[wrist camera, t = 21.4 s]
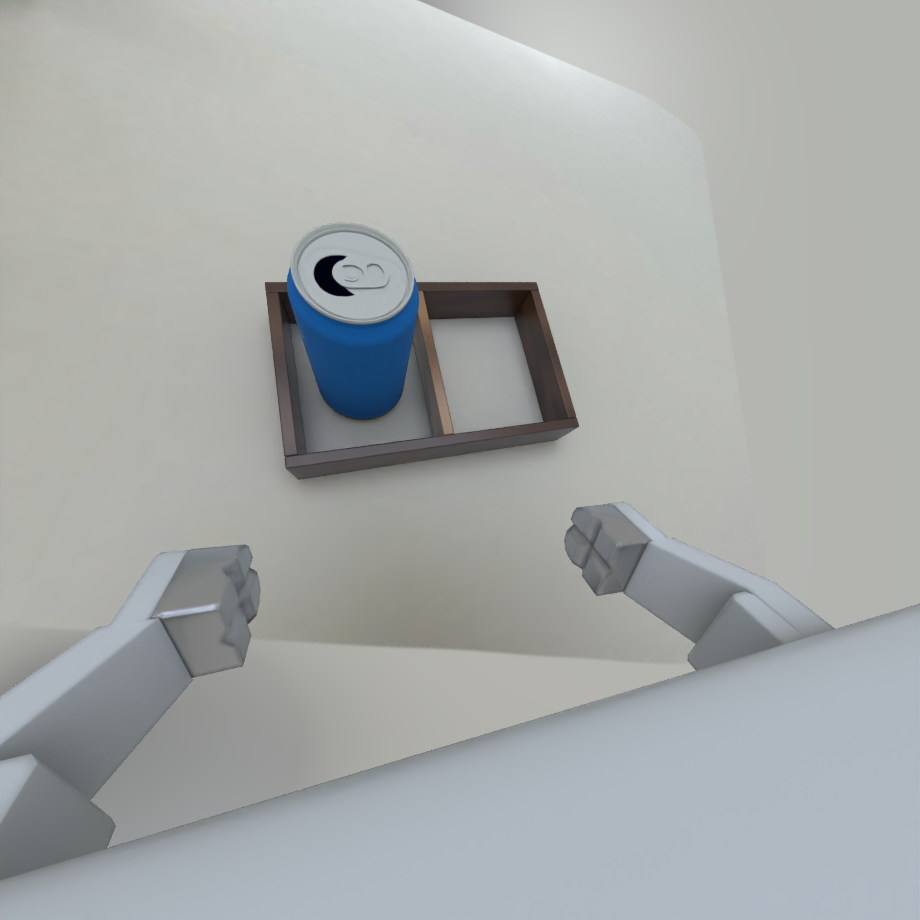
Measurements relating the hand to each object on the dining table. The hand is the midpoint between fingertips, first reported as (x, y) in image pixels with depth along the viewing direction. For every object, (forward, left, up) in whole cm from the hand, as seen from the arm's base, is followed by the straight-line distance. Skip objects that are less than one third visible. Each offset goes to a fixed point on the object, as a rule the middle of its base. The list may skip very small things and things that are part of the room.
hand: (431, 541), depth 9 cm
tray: (+13, -5, -17) cm, 22 cm away
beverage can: (+13, 0, -17) cm, 22 cm away
